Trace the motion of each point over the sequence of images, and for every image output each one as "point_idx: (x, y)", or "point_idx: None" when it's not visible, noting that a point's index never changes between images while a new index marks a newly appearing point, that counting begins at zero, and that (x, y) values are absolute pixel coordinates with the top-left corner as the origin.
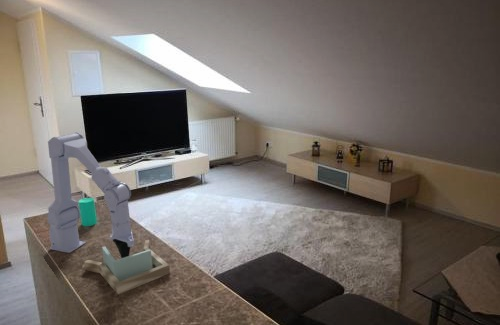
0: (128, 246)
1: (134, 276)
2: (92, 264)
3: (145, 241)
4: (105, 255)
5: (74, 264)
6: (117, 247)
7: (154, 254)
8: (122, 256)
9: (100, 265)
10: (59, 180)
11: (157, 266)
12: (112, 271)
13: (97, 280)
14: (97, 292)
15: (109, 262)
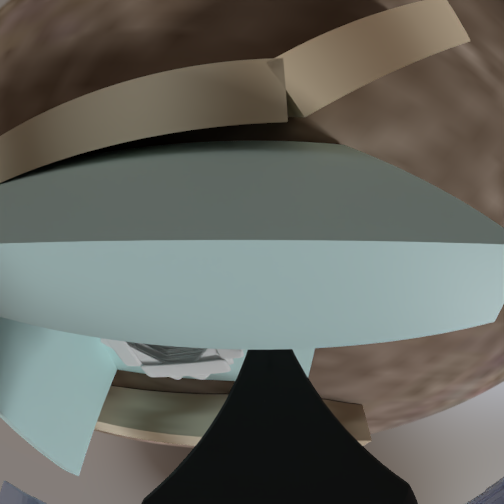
0: (7, 486)
1: None
2: (360, 20)
3: (360, 441)
4: (197, 188)
5: (498, 30)
6: (321, 422)
7: (176, 441)
8: (249, 350)
9: (240, 72)
10: None
11: (124, 394)
12: (9, 184)
13: (153, 39)
14: (23, 51)
15: (4, 199)
